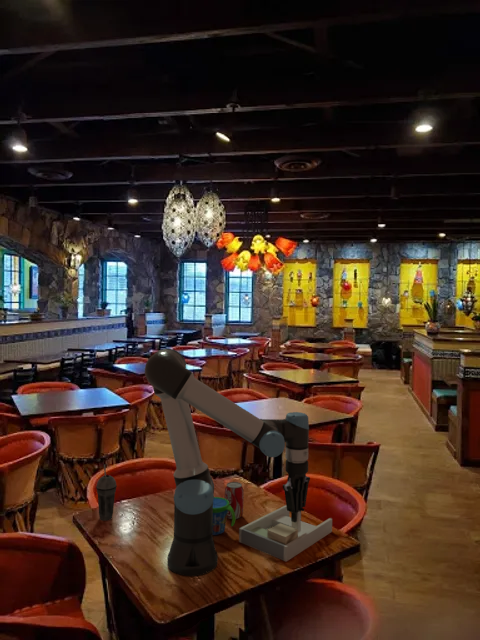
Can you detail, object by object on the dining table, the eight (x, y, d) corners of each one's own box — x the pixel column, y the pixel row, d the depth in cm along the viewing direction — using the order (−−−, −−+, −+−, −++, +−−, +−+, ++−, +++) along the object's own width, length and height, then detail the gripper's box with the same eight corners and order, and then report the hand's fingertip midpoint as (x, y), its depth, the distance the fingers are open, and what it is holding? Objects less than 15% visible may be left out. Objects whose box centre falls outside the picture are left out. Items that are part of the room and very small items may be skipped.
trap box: (286, 561, 151) (286, 547, 151) (238, 541, 163) (239, 528, 163) (331, 531, 173) (332, 518, 172) (287, 516, 185) (287, 504, 185)
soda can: (242, 520, 180) (243, 488, 180) (223, 520, 180) (224, 487, 180) (243, 512, 187) (243, 481, 187) (224, 512, 187) (225, 481, 187)
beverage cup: (120, 516, 181) (121, 462, 181) (106, 524, 175) (107, 468, 174) (105, 512, 184) (106, 459, 184) (91, 519, 178) (92, 464, 178)
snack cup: (186, 531, 170) (186, 502, 170) (204, 520, 179) (204, 492, 179) (224, 543, 162) (224, 512, 162) (240, 531, 171) (241, 502, 171)
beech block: (285, 549, 154) (285, 536, 153) (267, 542, 158) (267, 530, 158) (297, 541, 159) (297, 529, 159) (279, 535, 163) (280, 523, 163)
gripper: (295, 466, 156) (294, 540, 156) (317, 457, 166) (316, 527, 166) (276, 461, 161) (275, 533, 161) (298, 453, 171) (297, 520, 171)
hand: (296, 530), depth 164 cm, fingers closed
